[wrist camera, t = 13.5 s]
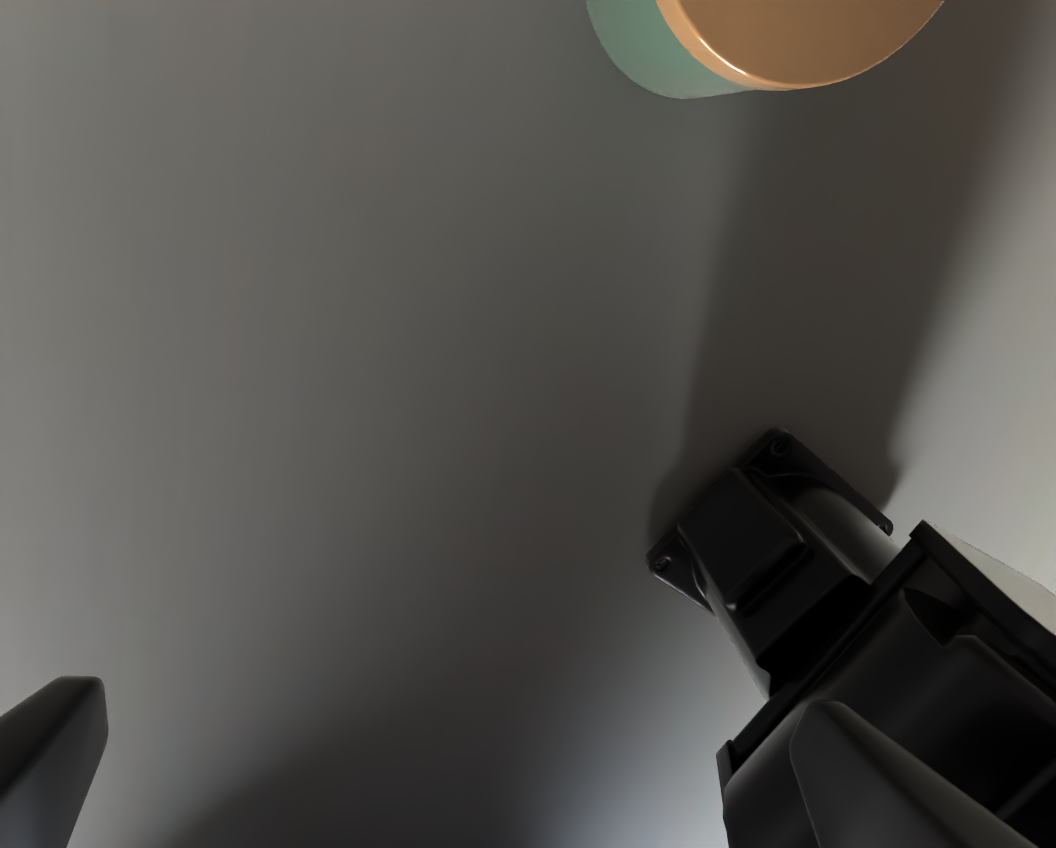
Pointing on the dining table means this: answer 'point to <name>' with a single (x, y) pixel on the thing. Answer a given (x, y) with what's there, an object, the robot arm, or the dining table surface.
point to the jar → (751, 41)
